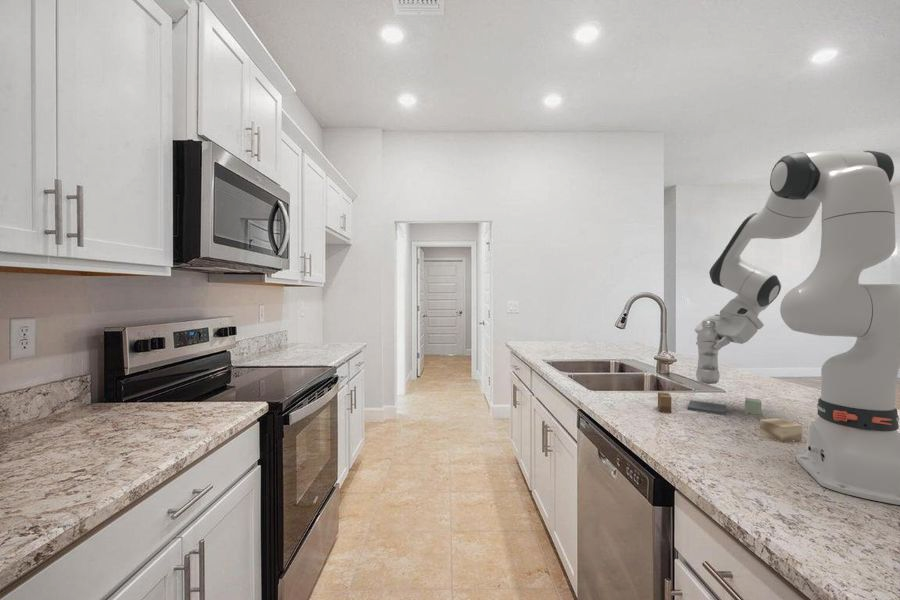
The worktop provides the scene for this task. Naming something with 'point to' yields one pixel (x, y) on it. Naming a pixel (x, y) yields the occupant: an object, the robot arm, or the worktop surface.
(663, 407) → the walnut brick
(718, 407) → the mat
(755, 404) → the sage brick
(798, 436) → the beech brick
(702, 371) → the plastic bottle
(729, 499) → the worktop surface
